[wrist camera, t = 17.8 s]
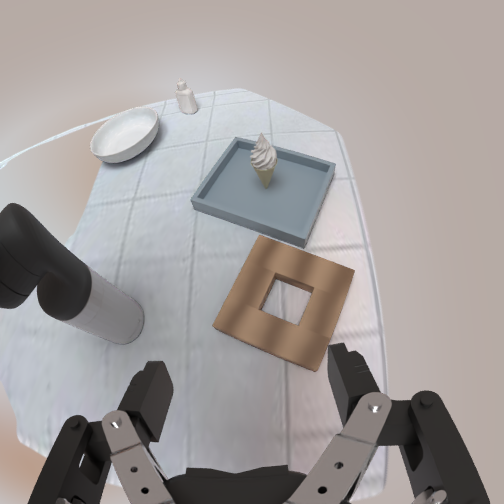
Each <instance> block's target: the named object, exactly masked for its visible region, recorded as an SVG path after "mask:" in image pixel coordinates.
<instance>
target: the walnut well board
mask: <svg viewBox="0 0 504 504" xmlns="http://www.w3.org/2000/svg"><path fill="white" fill-rule="evenodd" d="M354 272H355V270H353V269H350V268H347V267H345V266H342V265H340V264H337V263H334V262H332V261H329V260H326V259H324V258H321V257H318V256H316V255H313V254H310V253H307V252H305V251H302V250H299V249H297V248H294V247H291V246H289V245H286V244H283V243H280V242H278V241H275V240H272V239H269V238H267V237H264V236H261V235H259V236H258V238H257V240H256V242H255V244H254V246H253V248H252V250H251V252H250V254H249V256H248V258H247V260H246V261H245V263H244V265H243V267H242V269H241V271H240V273H239V275H238V277H237V279H236V281H235V283H234V285H233V287H232V289H231V290H230V292H229V294H228V296H227V298H226V300H225V302H224V304H223V306H222V308H221V310H220V312H219V314H218V316H217V318H216V320H215V322H214V323H213V325H212V326H213V327H214V328H215V329H217V330H219V331H221V332H223V333H225V334H227V335H229V336H231V337H234V338H236V339H238V340H240V341H242V342H244V343H247V344H249V345H251V346H253V347H256V348H258V349H260V350H263V351H265V352H267V353H270V354H272V355H274V356H277V357H279V358H281V359H284V360H286V361H289V362H291V363H294V364H296V365H299V366H301V367H304V368H306V369H309V370H312V371H314V372H316V371H317V370H318V368H319V366H320V363H321V361H322V359H323V356H324V354H325V351H326V349H327V346H328V344H329V341H330V339H331V336H332V334H333V331H334V329H335V326H336V323H337V321H338V318H339V315H340V313H341V310H342V307H343V304H344V301H345V299H346V296H347V293H348V290H349V287H350V284H351V281H352V278H353V275H354ZM275 279H278V280H280V281H283V282H285V283H288V284H291V285H293V286H296V287H298V288H301V289H303V290H306V291H308V292H311V293H312V295H311V297H310V300H309V302H308V305H307V307H306V310H305V312H304V314H303V317H302V319H301V321H300V324H299V326H297V325H295V324H292V323H290V322H287V321H285V320H282V319H280V318H277V317H275V316H273V315H270V314H268V313H265V312H263V311H261V309H262V307H263V305H264V303H265V301H266V299H267V296H268V294H269V292H270V290H271V288H272V286H273V284H274V281H275Z"/></svg>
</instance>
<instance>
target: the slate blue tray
mask: <svg viewBox="0 0 504 504" xmlns="http://www.w3.org/2000/svg"><path fill="white" fill-rule="evenodd" d="M255 143H256V141H251V140H247V139H243V138H238V137H235V138H234V140H233V141H232V142H231V144H230V145H229V146H228V148H227V149H226V150H225V152H224V153H223V154H222V156H221V157H220V158H219V160H218V161H217V163H216V164H215V165H214V167H213V168H212V170H211V171H210V172H209V174H208V175H207V177H206V178H205V179H204V181H203V182H202V184H201V185H200V186H199V188H198V189H197V191H196V192H195V194H194V195H193V197H192V198H191V202H192V205H193V207H194V209H195V210H197V211H200V212H203V213H206V214H209V215H212V216H214V217H217V218H220V219H223V220H226V221H229V222H232V223H234V224H237V225H240V226H243V227H246V228H249V229H251V230H254V231H257V232H260V233H262V234H265V235H268V236H271V237H274V238H276V239H279V240H282V241H285V242H287V243H290V244H293V245H295V246H298V247H301V248H304V247H305V245H306V243H307V240H308V238H309V236H310V233H311V231H312V228H313V226H314V223H315V221H316V219H317V216H318V214H319V211H320V209H321V206H322V204H323V201H324V199H325V196H326V193H327V191H328V188H329V186H330V183H331V181H332V178H333V175H334V171H335V166H336V164H335V163H332V162H328V161H325V160H322V159H319V158H315V157H312V156H309V155H305V154H302V153H298V152H295V151H291V150H287V149H284V148H280V147H276V146H272V145H271V146H272V147H273V148H274V149H275V150H276V154H277V160H278V162H277V165H276V166H275V169H274V172H273V174H272V177H271V180H270V182H269V185H268V188H267V189H265V187H264V185H263V184H262V182H261V180H260V178H259V177H258V175H257V173H256V171H255V169H254V168H253V167H252V165H251V158H250V156H251V155H253V153H251V150H254V149H255V148H254V146H256V144H255Z"/></svg>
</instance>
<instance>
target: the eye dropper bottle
mask: <svg viewBox="0 0 504 504" xmlns="http://www.w3.org/2000/svg"><path fill="white" fill-rule="evenodd" d="M177 86H178V89H177V90H176V91H175V94H176V98H177V101H178V104H179V107H180V110H181V112H183V113H185V114H194V113H195V112H196V111H197V110H198V109H197V105H196V102H195V98H194V94H193V92H192V90H191V89H189V88H187V86H186V83H185V81H182V79H181V78H180V79H179V82H178V83H177Z"/></svg>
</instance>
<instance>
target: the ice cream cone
mask: <svg viewBox="0 0 504 504" xmlns="http://www.w3.org/2000/svg"><path fill="white" fill-rule="evenodd" d="M255 144H256V146H254V148H255V149H254V150H251V153H253V155H251V156H250V158H251V165H252V167H253V168H254V169H255V171H256V173H257V175H258V177H259V178H260V180H261V182H262V184H263V185H264V187H265V189H267V188H268V185H269V182H270V180H271V177H272V174H273V172H274V169H275V166H276V165H277V162H278V160H277V154H276V150H275V149H274V148H273V147H272V146H271V145H270V144H269V141H267V140H266V139H265V137H264V136H263V134H262V133H261V134H260V137H259V139H258V141H257V142H256V143H255Z"/></svg>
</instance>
